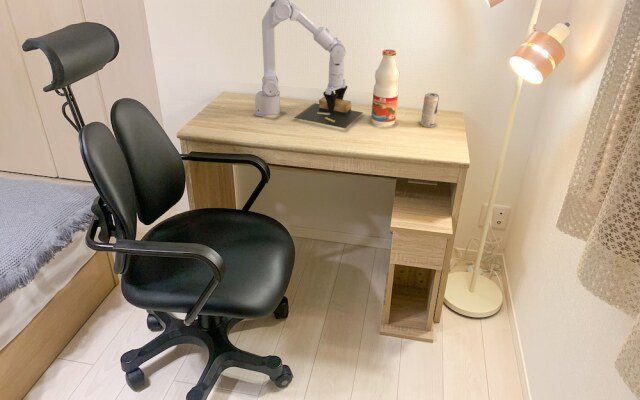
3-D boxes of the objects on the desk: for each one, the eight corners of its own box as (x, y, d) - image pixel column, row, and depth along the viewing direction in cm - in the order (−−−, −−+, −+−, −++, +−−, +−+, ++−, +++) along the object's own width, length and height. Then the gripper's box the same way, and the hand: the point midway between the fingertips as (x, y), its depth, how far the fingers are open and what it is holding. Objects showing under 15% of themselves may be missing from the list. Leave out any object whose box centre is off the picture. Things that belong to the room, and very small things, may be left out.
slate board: (294, 120, 189) (294, 117, 188) (314, 105, 202) (314, 103, 202) (345, 131, 181) (345, 128, 180) (363, 115, 194) (363, 112, 194)
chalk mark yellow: (324, 118, 188) (324, 117, 188) (326, 117, 188) (326, 117, 188) (333, 122, 185) (333, 121, 185) (335, 121, 185) (335, 120, 185)
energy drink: (436, 123, 188) (440, 94, 182) (432, 128, 184) (437, 98, 178) (422, 121, 190) (426, 91, 184) (419, 125, 186) (423, 96, 179)
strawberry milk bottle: (398, 121, 190) (405, 49, 175) (390, 129, 182) (398, 56, 167) (375, 117, 193) (381, 46, 178) (367, 125, 186) (372, 52, 171)
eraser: (319, 109, 195) (319, 100, 193) (324, 105, 199) (324, 96, 197) (345, 115, 191) (346, 105, 189) (350, 111, 195) (351, 101, 192)
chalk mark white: (317, 113, 192) (317, 113, 192) (317, 112, 193) (317, 112, 192) (329, 114, 191) (329, 114, 191) (329, 113, 192) (329, 113, 192)
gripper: (337, 80, 180) (336, 114, 187) (352, 69, 191) (351, 102, 198) (320, 77, 182) (320, 110, 190) (336, 67, 193) (335, 99, 201)
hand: (335, 106), depth 194 cm, fingers open, 7 cm apart
